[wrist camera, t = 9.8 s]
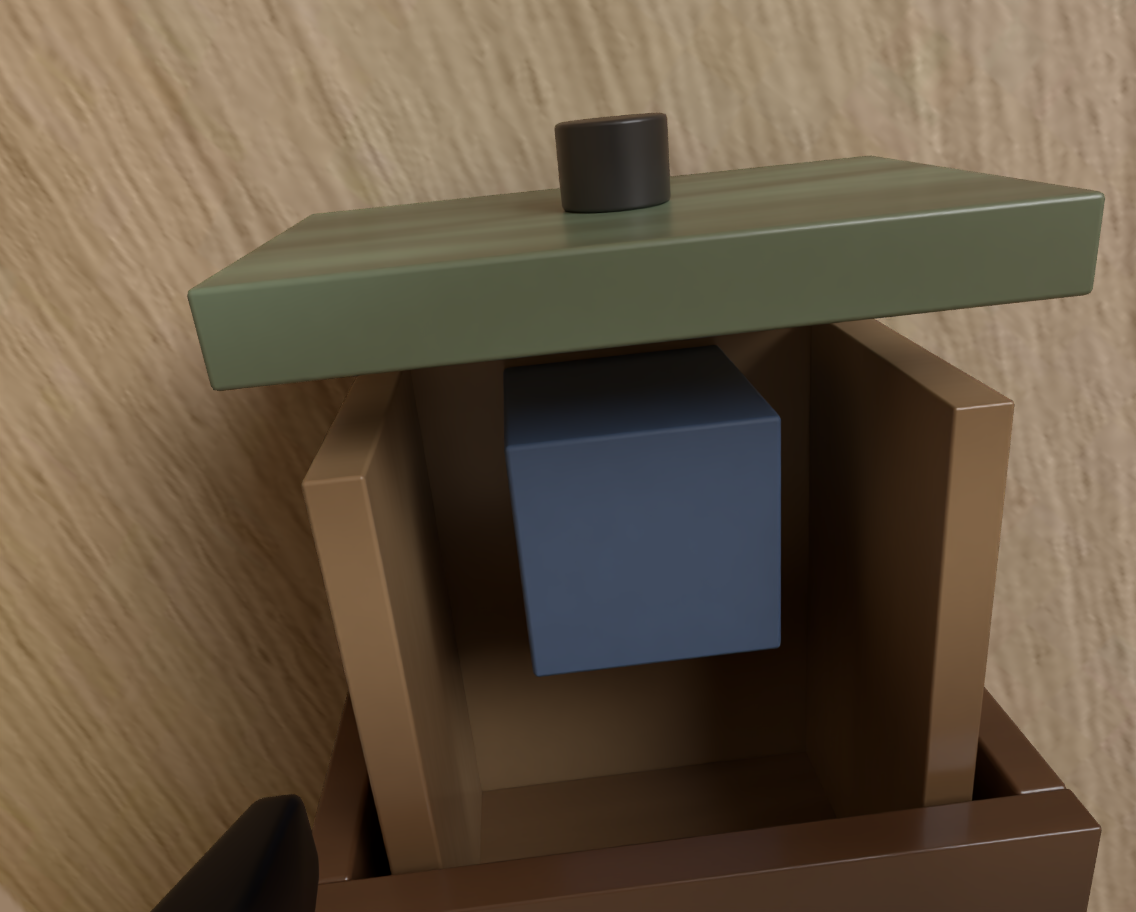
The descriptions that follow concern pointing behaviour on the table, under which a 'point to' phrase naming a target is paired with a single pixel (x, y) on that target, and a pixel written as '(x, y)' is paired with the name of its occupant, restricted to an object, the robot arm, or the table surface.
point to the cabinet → (753, 853)
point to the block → (644, 509)
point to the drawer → (808, 480)
